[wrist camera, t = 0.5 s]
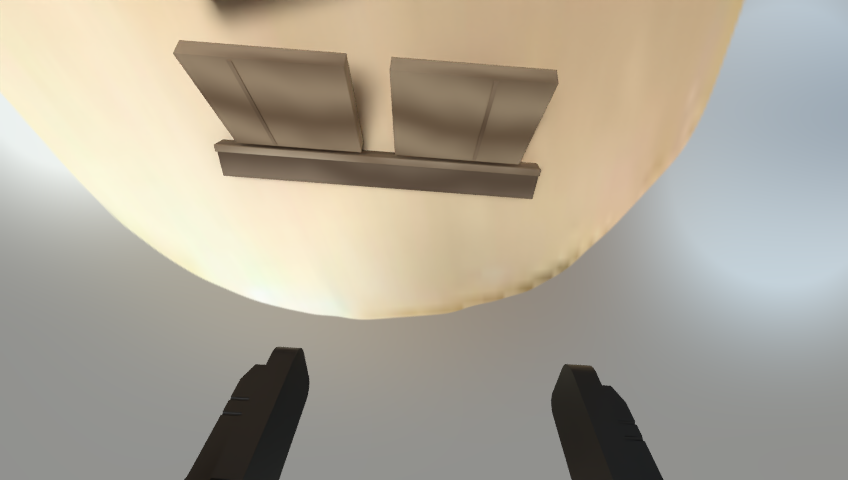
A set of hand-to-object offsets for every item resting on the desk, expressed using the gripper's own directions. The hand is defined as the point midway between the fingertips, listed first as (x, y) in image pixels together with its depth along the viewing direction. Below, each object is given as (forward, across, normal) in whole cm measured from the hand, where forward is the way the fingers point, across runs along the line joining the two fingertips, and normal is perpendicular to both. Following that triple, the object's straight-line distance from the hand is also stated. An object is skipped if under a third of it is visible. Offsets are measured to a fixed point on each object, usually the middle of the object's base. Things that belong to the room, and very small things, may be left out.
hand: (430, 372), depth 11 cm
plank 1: (+21, +12, -4) cm, 25 cm away
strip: (+24, +5, +3) cm, 25 cm away
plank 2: (+21, -2, -3) cm, 22 cm away
